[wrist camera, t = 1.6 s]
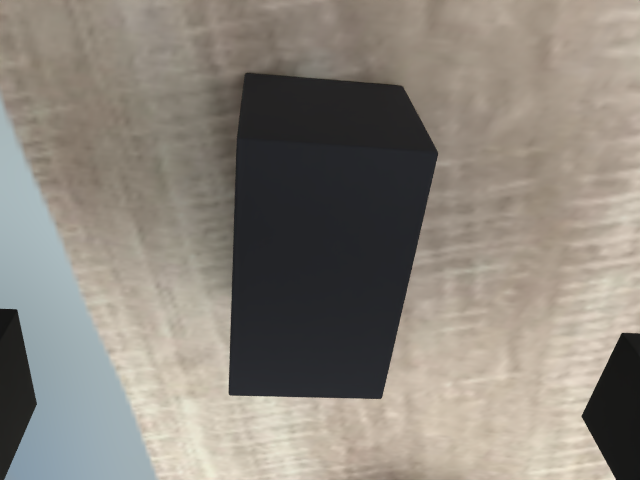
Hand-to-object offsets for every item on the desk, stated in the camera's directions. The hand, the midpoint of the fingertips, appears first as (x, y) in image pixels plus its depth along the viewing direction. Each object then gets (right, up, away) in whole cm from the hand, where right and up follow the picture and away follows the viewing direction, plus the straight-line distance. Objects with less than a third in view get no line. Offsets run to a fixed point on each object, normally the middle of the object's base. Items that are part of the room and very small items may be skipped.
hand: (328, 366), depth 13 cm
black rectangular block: (0, +4, +6) cm, 7 cm away
